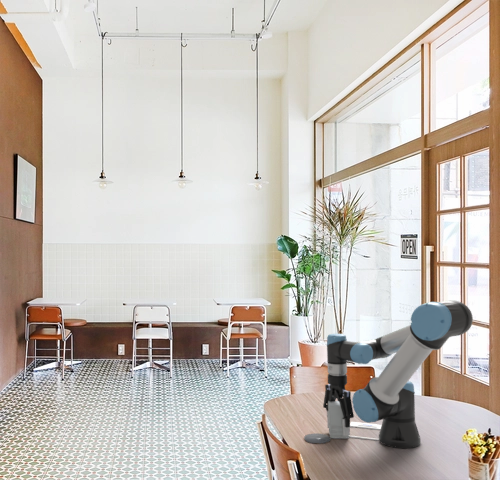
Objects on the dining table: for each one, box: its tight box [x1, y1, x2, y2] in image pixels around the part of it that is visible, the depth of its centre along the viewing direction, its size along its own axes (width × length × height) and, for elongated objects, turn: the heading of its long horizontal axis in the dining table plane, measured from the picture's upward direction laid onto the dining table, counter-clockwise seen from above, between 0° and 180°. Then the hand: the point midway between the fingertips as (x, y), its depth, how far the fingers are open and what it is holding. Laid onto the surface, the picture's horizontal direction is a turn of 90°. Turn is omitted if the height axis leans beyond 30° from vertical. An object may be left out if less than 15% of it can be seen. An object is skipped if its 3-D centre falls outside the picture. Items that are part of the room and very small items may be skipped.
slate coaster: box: [303, 432, 331, 445], centre depth 196 cm, size 10×10×1 cm
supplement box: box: [328, 400, 350, 439], centre depth 200 cm, size 7×7×13 cm
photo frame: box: [348, 421, 382, 442], centre depth 204 cm, size 15×1×18 cm
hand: (338, 431), depth 200 cm, fingers closed on supplement box, 10 cm apart
